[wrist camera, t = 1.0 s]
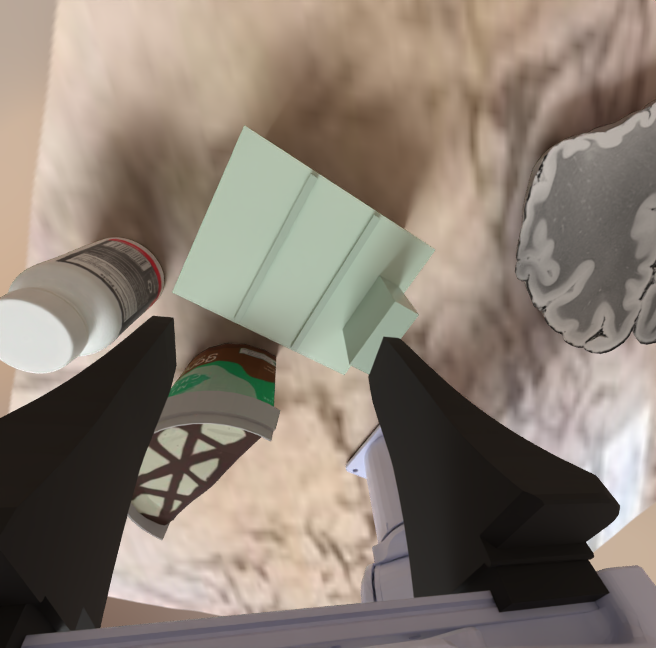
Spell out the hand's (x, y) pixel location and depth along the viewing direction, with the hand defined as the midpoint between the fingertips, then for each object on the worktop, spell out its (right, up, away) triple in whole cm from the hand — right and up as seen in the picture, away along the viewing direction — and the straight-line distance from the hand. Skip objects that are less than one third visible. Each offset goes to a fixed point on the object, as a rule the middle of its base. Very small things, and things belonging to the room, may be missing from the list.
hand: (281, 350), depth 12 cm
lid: (0, +4, +8) cm, 9 cm away
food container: (-8, -3, +17) cm, 19 cm away
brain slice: (+24, +8, +13) cm, 28 cm away
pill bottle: (-13, +5, +13) cm, 18 cm away
